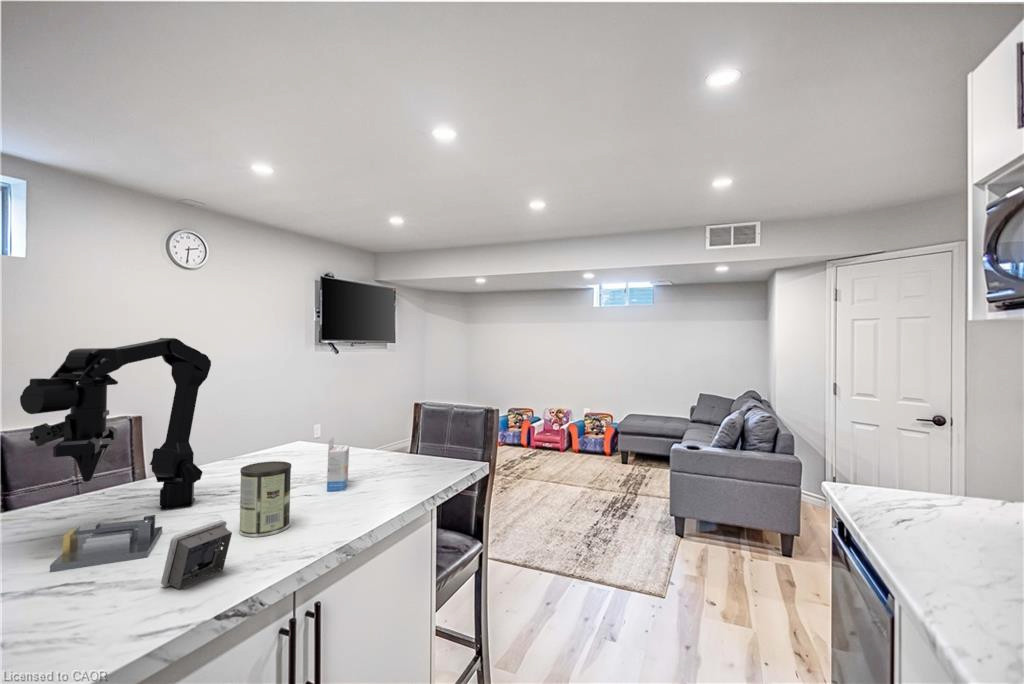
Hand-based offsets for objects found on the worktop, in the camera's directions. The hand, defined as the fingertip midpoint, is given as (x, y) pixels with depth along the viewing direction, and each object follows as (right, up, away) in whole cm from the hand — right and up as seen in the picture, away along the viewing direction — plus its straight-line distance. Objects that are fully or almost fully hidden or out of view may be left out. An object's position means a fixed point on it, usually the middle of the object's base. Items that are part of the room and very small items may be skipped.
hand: (87, 480), depth 98 cm
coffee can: (+34, -13, +7) cm, 37 cm away
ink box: (+38, -14, +40) cm, 57 cm away
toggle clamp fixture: (+10, -12, -6) cm, 17 cm away
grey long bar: (+10, -8, -5) cm, 14 cm away
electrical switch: (+35, -13, -16) cm, 41 cm away
